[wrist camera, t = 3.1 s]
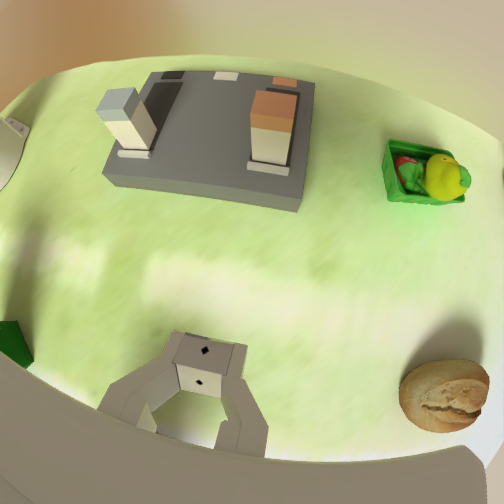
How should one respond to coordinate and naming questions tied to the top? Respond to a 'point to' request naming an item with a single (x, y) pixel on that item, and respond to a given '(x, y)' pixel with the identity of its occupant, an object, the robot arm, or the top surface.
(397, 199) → the fruit basket
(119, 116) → the switch
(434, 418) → the bread roll
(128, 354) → the top surface
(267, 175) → the console
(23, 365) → the milk carton
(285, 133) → the switch
